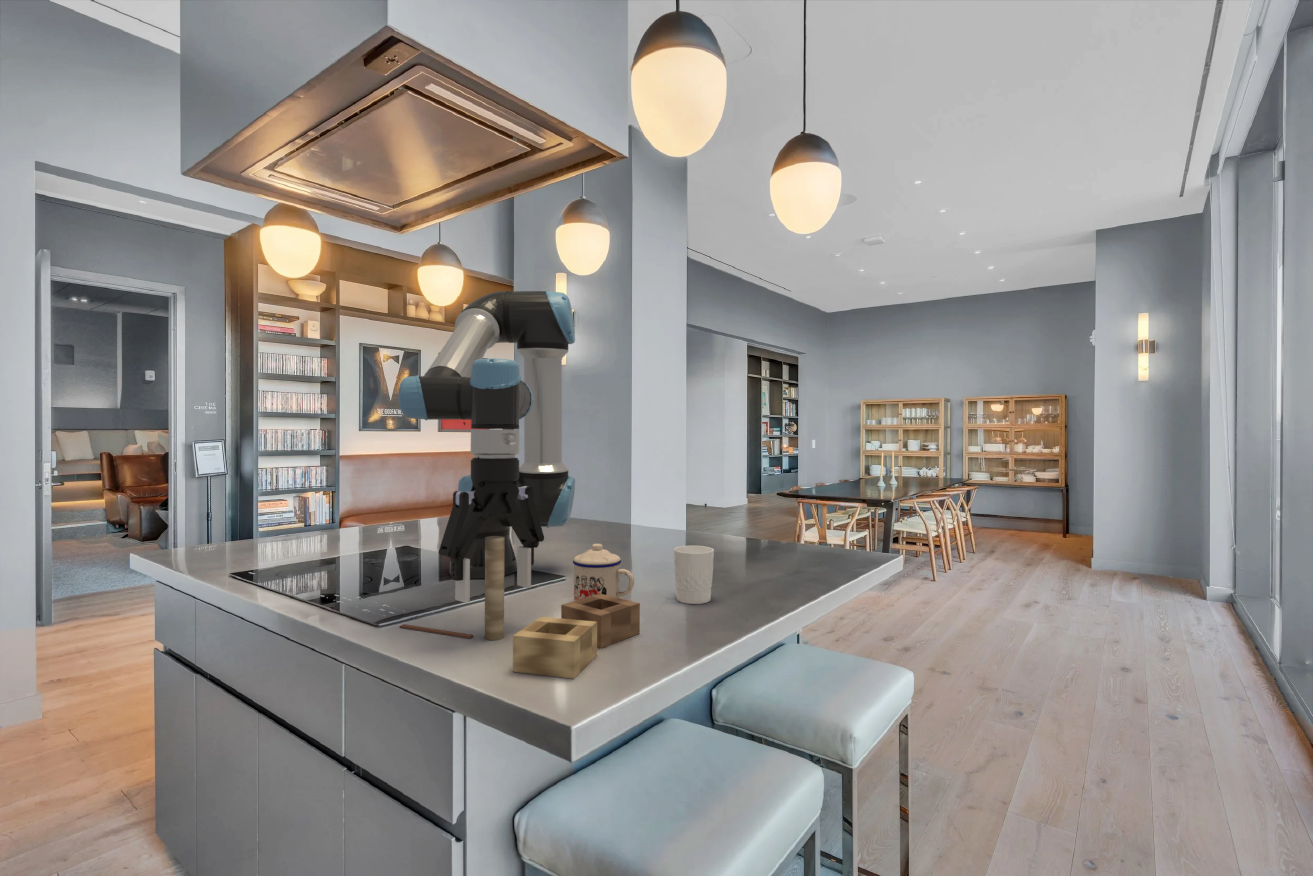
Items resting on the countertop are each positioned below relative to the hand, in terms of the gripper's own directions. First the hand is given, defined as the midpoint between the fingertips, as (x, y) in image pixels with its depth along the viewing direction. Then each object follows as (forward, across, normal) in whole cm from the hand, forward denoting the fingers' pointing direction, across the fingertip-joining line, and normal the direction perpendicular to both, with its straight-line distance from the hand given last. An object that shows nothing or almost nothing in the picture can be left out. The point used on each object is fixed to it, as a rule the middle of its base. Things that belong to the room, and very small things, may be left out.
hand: (494, 593), depth 100 cm
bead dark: (+7, +12, -12) cm, 18 cm away
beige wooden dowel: (+7, 0, 0) cm, 7 cm away
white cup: (+7, +39, -11) cm, 41 cm away
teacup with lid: (+7, +24, -1) cm, 25 cm away
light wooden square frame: (+7, -1, -16) cm, 18 cm away
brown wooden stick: (+7, -5, +9) cm, 13 cm away
